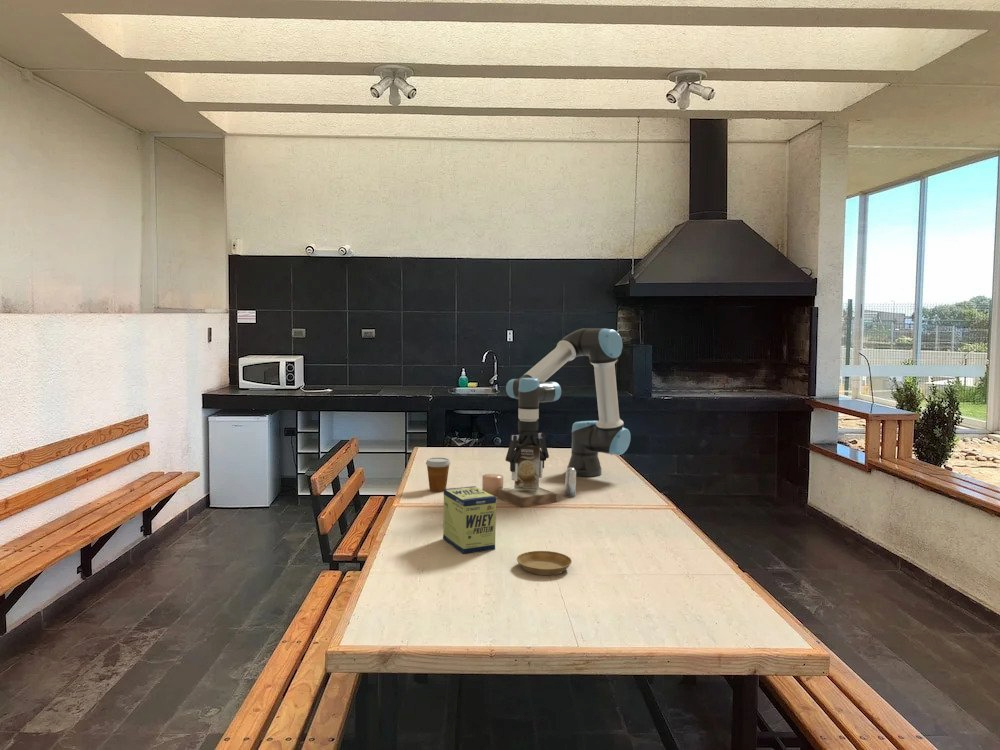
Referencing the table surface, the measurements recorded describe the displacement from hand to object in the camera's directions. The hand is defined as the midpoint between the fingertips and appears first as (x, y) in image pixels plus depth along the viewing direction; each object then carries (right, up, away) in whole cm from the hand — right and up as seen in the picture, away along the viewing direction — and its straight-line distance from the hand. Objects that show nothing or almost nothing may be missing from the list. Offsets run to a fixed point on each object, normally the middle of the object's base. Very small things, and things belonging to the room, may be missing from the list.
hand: (527, 478), depth 259 cm
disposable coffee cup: (-34, -6, +13) cm, 37 cm away
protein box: (-19, -12, -53) cm, 57 cm away
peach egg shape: (-13, -7, +8) cm, 17 cm away
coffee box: (0, -4, 0) cm, 4 cm away
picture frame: (0, -8, 0) cm, 8 cm away
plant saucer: (+2, -14, -72) cm, 73 cm away
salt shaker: (+17, -8, +7) cm, 20 cm away
